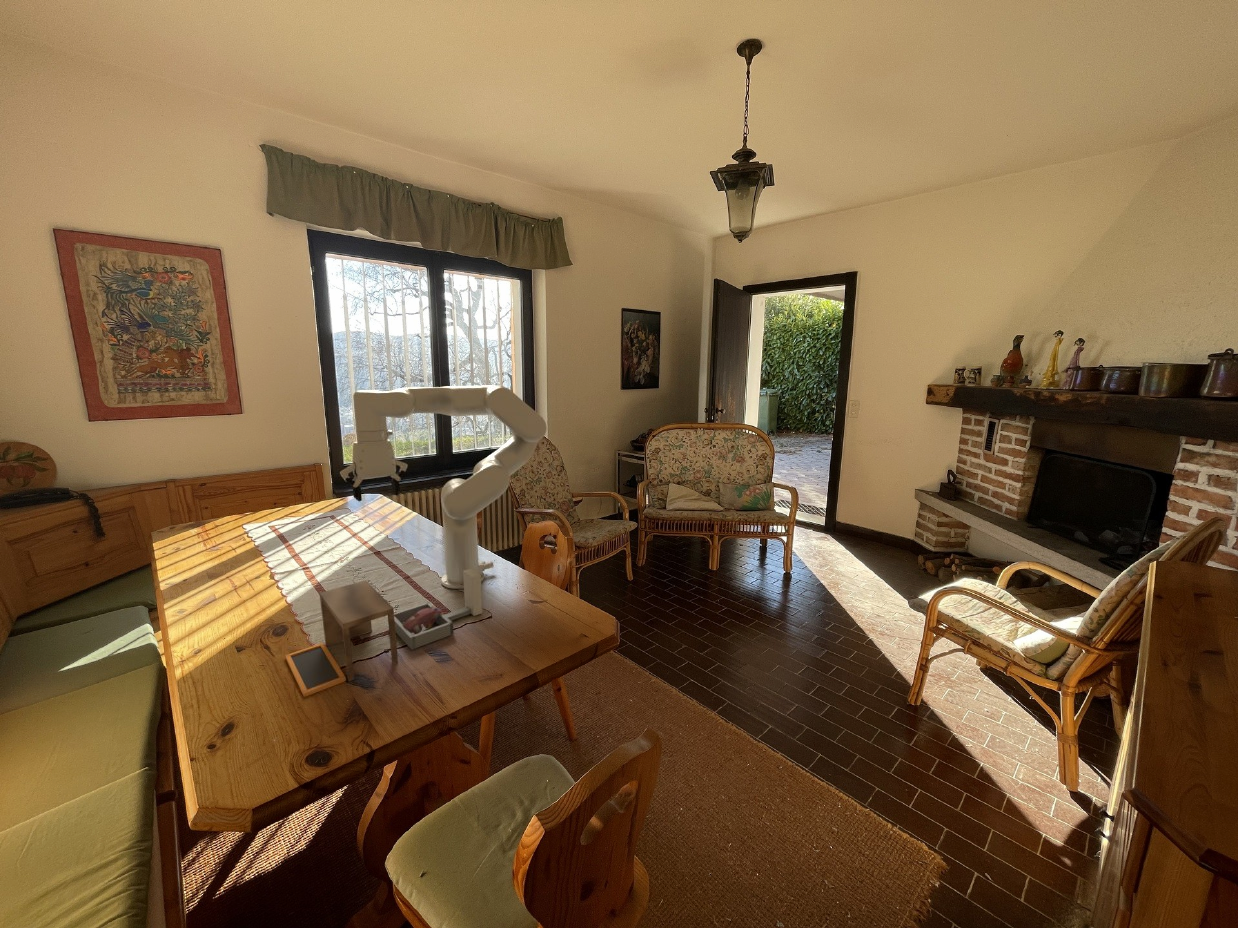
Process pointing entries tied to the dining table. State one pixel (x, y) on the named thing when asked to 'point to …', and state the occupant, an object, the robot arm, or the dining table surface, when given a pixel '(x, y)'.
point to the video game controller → (422, 619)
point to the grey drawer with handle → (445, 621)
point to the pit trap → (314, 669)
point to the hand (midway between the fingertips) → (377, 497)
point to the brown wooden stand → (354, 617)
